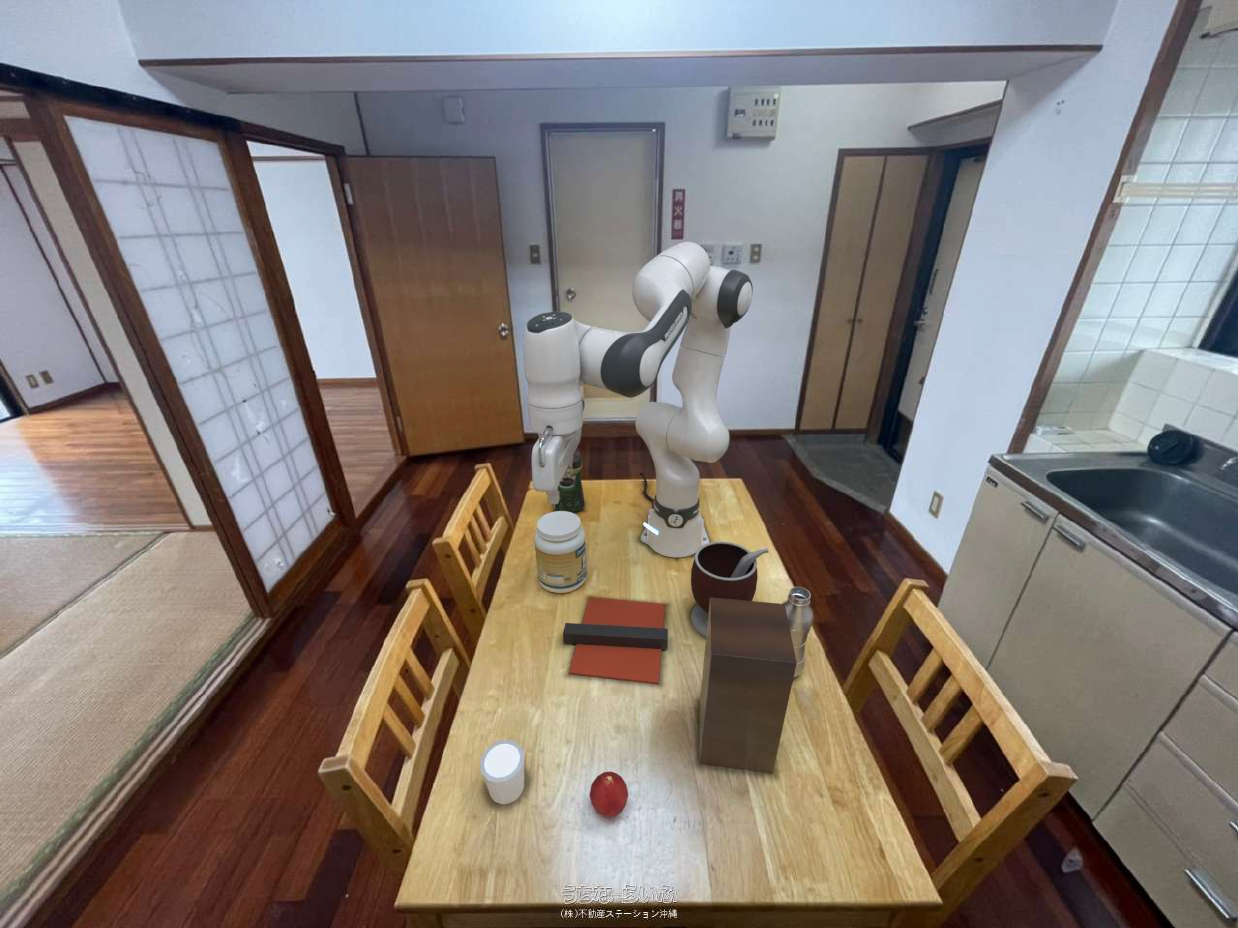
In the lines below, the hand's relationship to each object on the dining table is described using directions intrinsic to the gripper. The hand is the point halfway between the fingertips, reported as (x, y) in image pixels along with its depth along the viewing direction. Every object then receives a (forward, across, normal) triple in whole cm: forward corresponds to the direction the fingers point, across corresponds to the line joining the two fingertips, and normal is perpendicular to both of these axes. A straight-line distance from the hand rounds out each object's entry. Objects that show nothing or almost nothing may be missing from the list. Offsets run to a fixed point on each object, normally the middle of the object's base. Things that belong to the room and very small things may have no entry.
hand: (560, 487), depth 91 cm
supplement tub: (+39, +21, +7) cm, 45 cm away
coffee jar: (+39, +54, +13) cm, 68 cm away
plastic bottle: (+39, 0, -44) cm, 59 cm away
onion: (+39, -31, -13) cm, 52 cm away
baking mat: (+39, +4, -10) cm, 41 cm away
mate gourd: (+39, +12, -32) cm, 52 cm away
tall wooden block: (+39, -16, -33) cm, 54 cm away
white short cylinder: (+39, -30, +4) cm, 50 cm away
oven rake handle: (+39, +2, -9) cm, 40 cm away
